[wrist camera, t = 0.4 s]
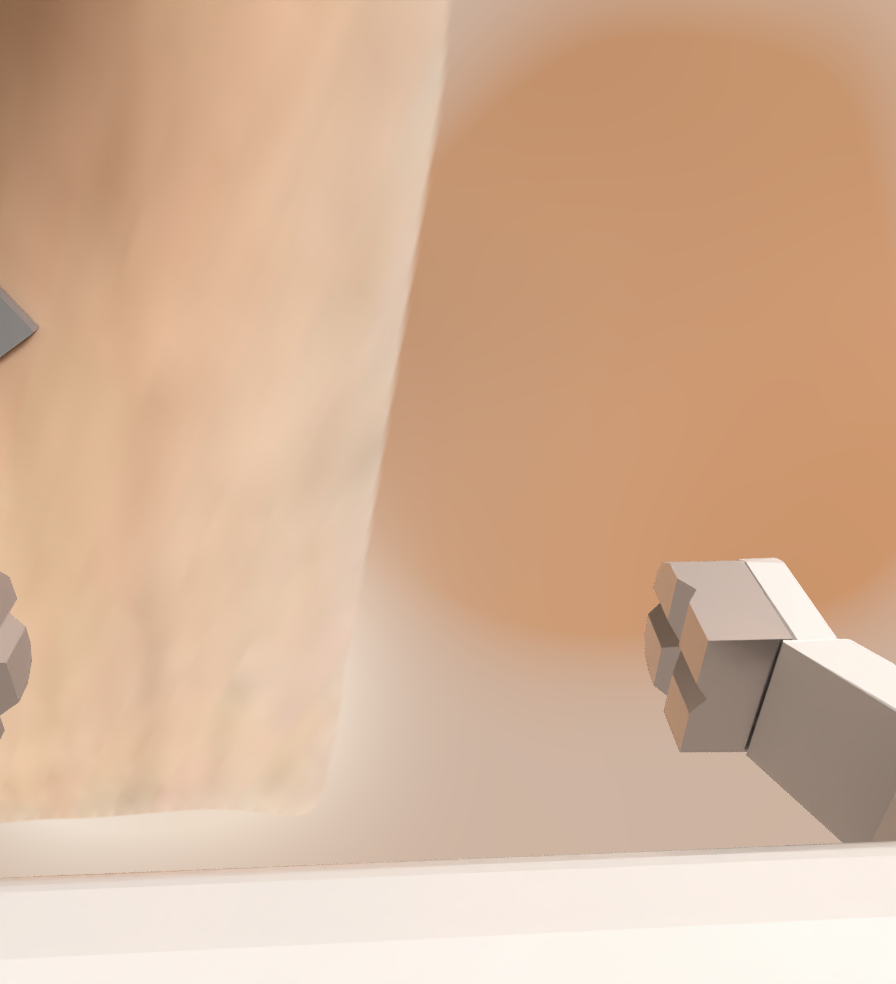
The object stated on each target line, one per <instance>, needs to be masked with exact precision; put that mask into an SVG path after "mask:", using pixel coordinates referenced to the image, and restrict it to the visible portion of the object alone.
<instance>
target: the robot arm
mask: <svg viewBox="0 0 896 984" xmlns="http://www.w3.org/2000/svg"><path fill="white" fill-rule="evenodd" d="M654 590H655V592H656V594H657V596H658V599H659V601H660V603H659V604H658V605H657V607H655V608H654V609H653V610H652V611H651V612H650V613H649V614H648V618H647V624H646V630H645V657H646V661H647V666H648V671H649V673H650V677H651V679H652V682H653V685H654V686H655V687H657V688H658V689H659V690H661V691H662V692H663V693H665V694H666V695H667V699H666V704H665V708H664V713H665V716H666V719H667V721H668V724H669V726H670V729H671V731H672V734H673V736H674V739H675V741H676V744H677V746H678V749H679V751H680V752H747V756H748V757H749V758H750V759H751V760H753V761H754V762H755V763H756V764H757V765H758V766H759V767H760V768H761V769H762V770H763V771H765V772H766V773H767V774H768V775H769V776H770V777H771V778H772V779H773V780H774V781H776V782H777V783H778V784H779V785H780V786H781V787H782V788H783V789H784V790H786V791H787V792H788V793H789V794H790V795H791V796H792V797H793V798H794V799H795V800H796V801H798V802H799V803H800V804H801V805H802V806H803V807H804V808H805V809H806V810H807V811H809V812H810V813H811V814H812V815H813V816H814V817H815V818H816V819H817V820H818V821H820V822H821V823H822V824H823V825H824V826H825V827H826V828H827V829H828V830H830V831H831V832H832V833H833V834H834V835H835V836H836V837H837V838H838V839H839V840H840V841H842V842H843V843H834V844H809V845H786V846H762V847H739V848H717V849H692V850H669V851H645V852H621V853H595V854H569V855H544V856H519V857H494V858H468V859H443V860H418V861H394V862H370V863H347V864H322V865H298V866H274V867H252V868H251V867H250V868H228V869H227V868H226V869H202V870H181V871H180V870H178V871H156V872H130V873H106V874H84V875H58V876H33V877H9V878H0V984H896V665H894V664H892V663H891V662H889V661H887V660H886V659H884V658H882V657H880V656H879V655H877V654H875V653H873V652H871V651H870V650H868V649H866V648H864V647H862V646H861V645H859V644H857V643H855V642H854V641H852V640H850V639H837V637H836V636H835V635H834V633H833V632H832V630H831V629H830V628H829V626H828V625H827V623H826V622H825V620H824V619H823V618H822V616H821V615H820V613H819V612H818V611H817V609H816V608H815V606H814V605H813V603H812V602H811V600H810V599H809V598H808V596H807V595H806V593H805V592H804V591H803V589H802V588H801V586H800V585H799V583H798V582H797V580H796V579H795V578H794V576H793V575H792V573H791V572H790V571H789V569H788V568H787V566H786V565H785V563H784V562H782V561H781V560H779V559H777V558H757V559H738V560H737V561H694V562H662V563H661V565H660V567H659V569H658V571H657V574H656V578H655V583H654ZM16 600H17V597H16V594H15V592H14V589H13V586H12V583H11V580H10V578H9V577H8V576H7V575H5V574H3V573H1V572H0V715H1V714H3V713H4V712H5V711H7V710H8V709H10V708H11V707H13V706H14V705H15V704H17V703H18V702H19V701H20V699H21V697H22V694H23V692H24V690H25V688H26V686H27V684H28V678H29V673H30V667H31V662H32V658H31V645H30V640H29V636H28V633H27V629H26V627H25V626H24V625H23V624H22V623H20V622H19V621H18V620H17V619H15V618H14V617H13V616H12V615H10V614H9V612H10V610H11V608H12V606H13V605H14V603H15V601H16ZM4 731H5V730H4V727H3V724H2V721H1V718H0V738H1V736H2V734H3V732H4Z"/></svg>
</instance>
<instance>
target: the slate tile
mask: <svg viewBox="0 0 896 984" xmlns="http://www.w3.org/2000/svg"><path fill="white" fill-rule="evenodd" d="M38 328H39V327H38V326H37V325H36V324H35V322H34V321H33V320H32V319H31V318H30V317H29V316H28V315H27V314H26V313H25V312H24V311H23V310H22V309H21V308H20V307H19V306H18V305H17V304H16V303H15V302H14V301H13V300H12V299H11V297H10V296H9V295H8V294H7V293H6V292H5V291H4V290H3V289H2V288H1V287H0V357H2V356H3V355H4V354H6V353H7V352H8V351H10V350H11V349H12V348H14V347H15V346H16V345H18V344H19V343H20V342H22V341H23V340H24V339H26V338H27V337H28V336H30V335H31V334H32V333H34V332H35V331H36V330H37V329H38Z"/></svg>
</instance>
